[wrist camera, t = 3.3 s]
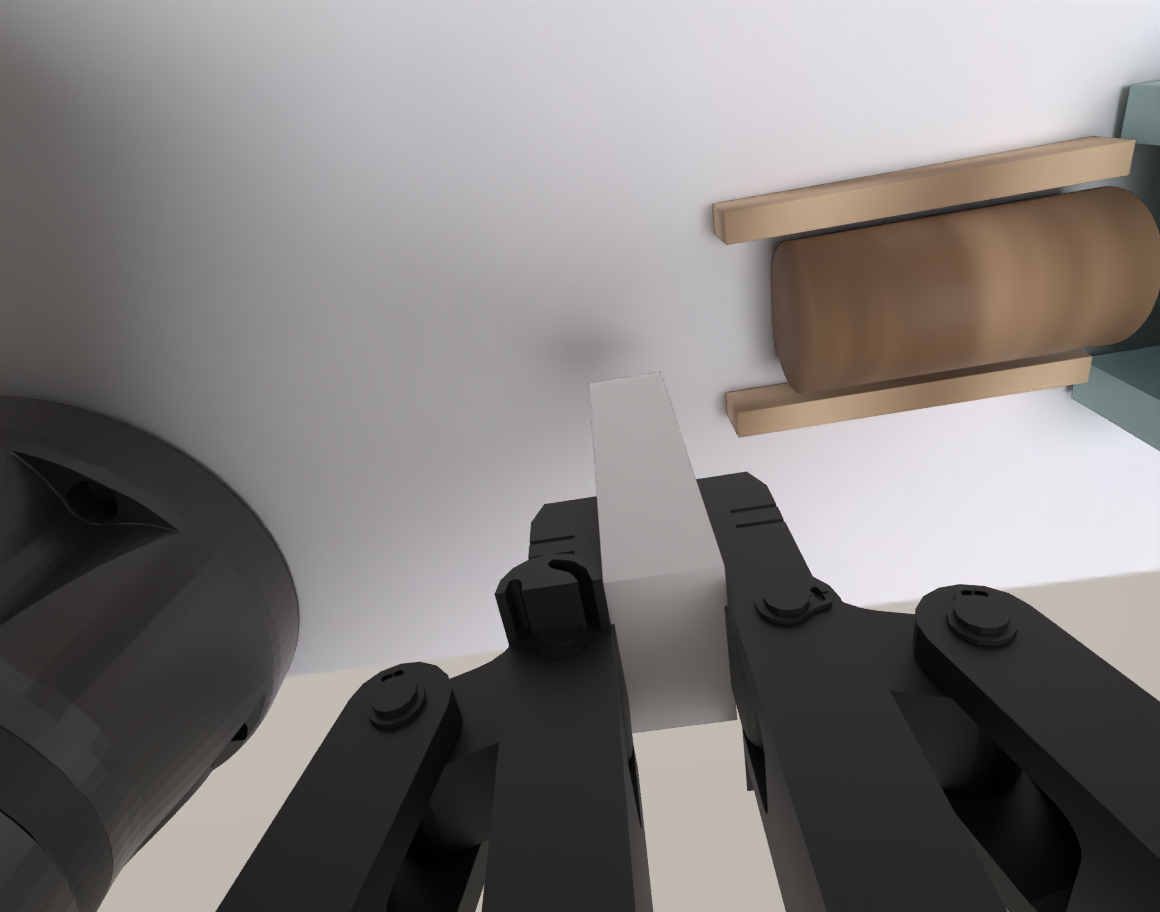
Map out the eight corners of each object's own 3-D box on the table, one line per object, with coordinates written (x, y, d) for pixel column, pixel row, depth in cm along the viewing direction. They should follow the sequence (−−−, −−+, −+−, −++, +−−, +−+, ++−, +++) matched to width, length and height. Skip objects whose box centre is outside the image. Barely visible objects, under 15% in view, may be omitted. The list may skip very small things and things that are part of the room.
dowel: (775, 373, 21) (818, 413, 17) (766, 236, 19) (811, 247, 16) (1045, 329, 20) (1150, 361, 17) (1056, 186, 19) (1174, 185, 15)
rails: (727, 416, 21) (738, 437, 20) (712, 204, 18) (724, 212, 17) (1054, 363, 21) (1087, 381, 20) (1093, 136, 18) (1135, 140, 17)
